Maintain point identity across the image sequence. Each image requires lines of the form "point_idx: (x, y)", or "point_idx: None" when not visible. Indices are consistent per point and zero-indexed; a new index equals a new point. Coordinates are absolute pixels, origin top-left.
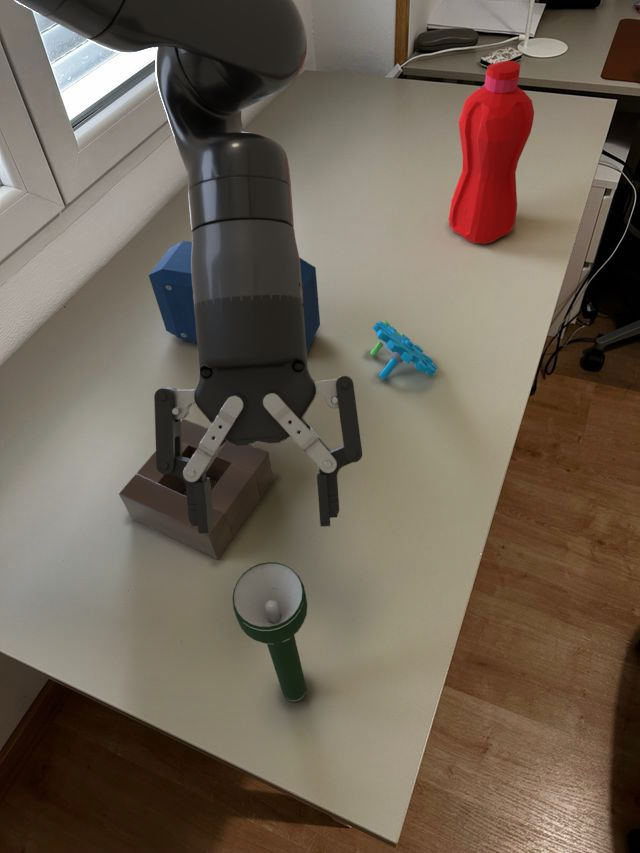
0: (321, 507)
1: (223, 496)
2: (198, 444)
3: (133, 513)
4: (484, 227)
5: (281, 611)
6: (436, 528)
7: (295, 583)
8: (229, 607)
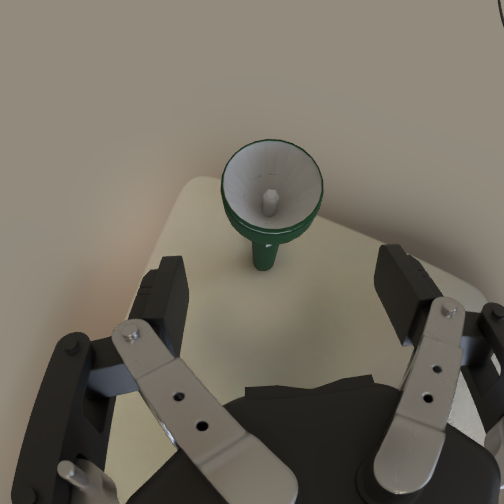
0: (170, 273)
1: None
2: None
3: None
4: None
5: (260, 213)
6: (132, 411)
7: (236, 211)
8: (330, 338)
